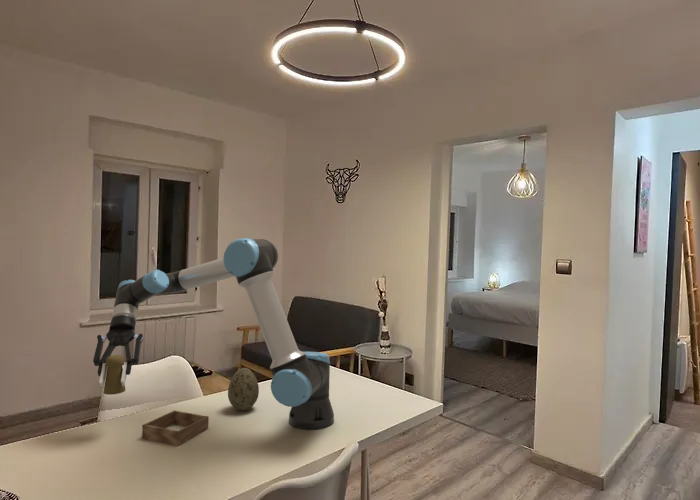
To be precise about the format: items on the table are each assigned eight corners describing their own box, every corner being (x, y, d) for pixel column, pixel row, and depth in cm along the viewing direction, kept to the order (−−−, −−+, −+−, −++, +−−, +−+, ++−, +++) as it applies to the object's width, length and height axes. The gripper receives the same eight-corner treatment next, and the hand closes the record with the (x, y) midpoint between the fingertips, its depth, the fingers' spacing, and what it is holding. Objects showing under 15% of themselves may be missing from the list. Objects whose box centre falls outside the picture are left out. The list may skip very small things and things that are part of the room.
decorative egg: (247, 416, 157) (248, 373, 157) (221, 412, 160) (222, 369, 160) (264, 406, 167) (264, 365, 167) (238, 403, 170) (239, 362, 170)
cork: (129, 390, 142) (130, 354, 142) (112, 395, 136) (113, 358, 136) (116, 387, 144) (117, 352, 144) (98, 392, 139) (99, 356, 139)
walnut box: (208, 428, 146) (208, 416, 146) (178, 445, 133) (178, 432, 133) (174, 422, 150) (174, 410, 150) (142, 438, 138) (142, 425, 138)
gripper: (154, 326, 157) (146, 388, 142) (95, 328, 152) (80, 392, 137) (152, 313, 152) (143, 376, 137) (91, 314, 147) (75, 379, 132)
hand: (112, 384), depth 137 cm, fingers closed on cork, 5 cm apart
